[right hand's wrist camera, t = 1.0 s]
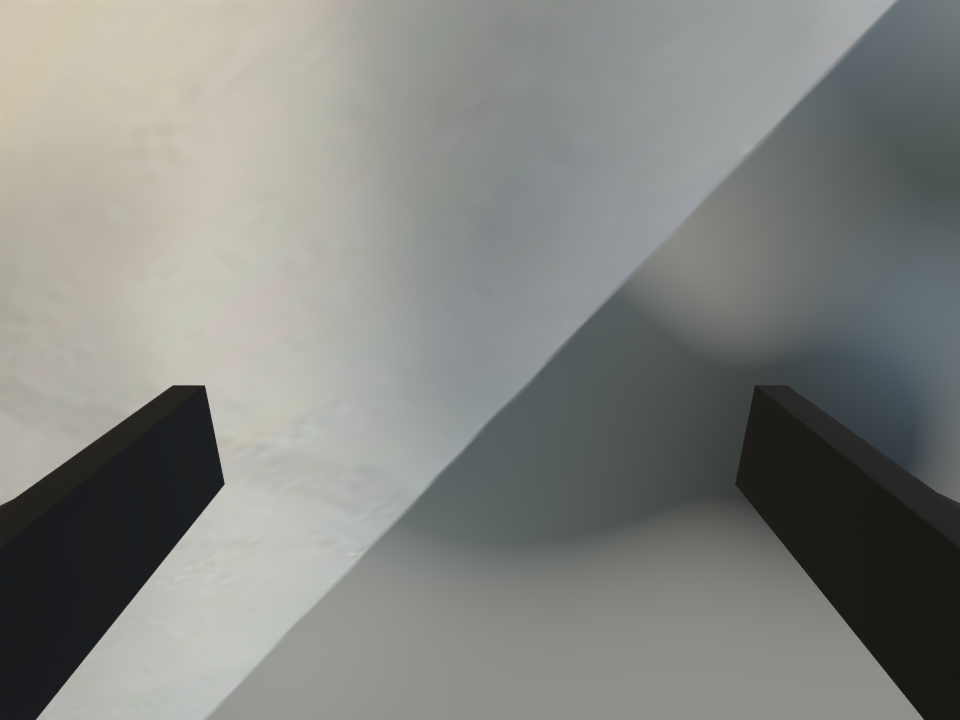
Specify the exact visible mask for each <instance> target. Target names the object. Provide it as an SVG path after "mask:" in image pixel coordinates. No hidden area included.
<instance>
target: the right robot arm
mask: <svg viewBox="0 0 960 720" xmlns="http://www.w3.org/2000/svg"><path fill="white" fill-rule="evenodd" d="M224 484H225V483H224V478H223V473H222V468H221V463H220V458H219V453H218V448H217V443H216V438H215V433H214V428H213V423H212V418H211V413H210V408H209V403H208V398H207V393H206V388H205V385H173V386H171V387H170V388H169V389H167V390H166V391H164V392H163V393H162V394H160V395H159V396H157V397H156V398H155V399H153V400H152V401H150V402H149V403H148V404H146V405H145V406H143V407H142V408H141V409H139V410H138V411H136V412H135V413H134V414H132V415H131V416H129V417H128V418H127V419H125V420H124V421H122V422H121V423H120V424H118V425H117V426H115V427H114V428H113V429H111V430H110V431H108V432H107V433H106V434H104V435H103V436H101V437H100V438H99V439H97V440H96V441H94V442H93V443H92V444H90V445H89V446H88V447H86V448H85V449H83V450H82V451H81V452H79V453H78V454H76V455H75V456H74V457H72V458H71V459H69V460H68V461H67V462H65V463H64V464H62V465H61V466H60V467H58V468H57V469H55V470H54V471H53V472H51V473H50V474H48V475H47V476H46V477H44V478H43V479H41V480H40V481H39V482H37V483H36V484H34V485H33V486H32V487H30V488H29V489H27V490H26V491H25V492H23V493H22V494H20V495H19V496H18V497H16V498H15V499H13V500H11V501H9V502H7V503H5V504H3V505H1V506H0V720H36V719H37V718H38V716H39V715H40V714H41V713H42V711H43V710H44V709H45V708H46V706H47V705H48V704H49V703H50V701H51V700H52V699H53V698H54V696H55V695H56V694H57V693H58V691H59V690H60V689H61V688H62V686H63V685H64V684H65V683H66V681H67V680H68V679H69V678H70V676H71V675H72V674H73V673H74V671H75V670H76V669H77V668H78V666H79V665H80V664H81V663H82V661H83V660H84V659H85V658H86V656H87V655H88V654H89V653H90V651H91V650H92V649H93V648H94V646H95V645H96V644H97V643H98V641H99V640H100V639H101V638H102V637H103V635H104V634H105V633H106V632H107V630H108V629H109V628H110V627H111V625H112V624H113V623H114V622H115V620H116V619H117V618H118V617H119V615H120V614H121V613H122V612H123V610H124V609H125V608H126V607H127V605H128V604H129V603H130V602H131V600H132V599H133V598H134V597H135V595H136V594H137V593H138V592H139V590H140V589H141V588H142V587H143V585H144V584H145V583H146V582H147V580H148V579H149V578H150V577H151V575H152V574H153V573H154V572H155V570H156V569H157V568H158V567H159V565H160V564H161V563H162V562H163V560H164V559H165V558H166V557H167V555H168V554H169V553H170V552H171V550H172V549H173V548H174V547H175V545H176V544H177V543H178V542H179V540H180V539H181V538H182V537H183V536H184V534H185V533H186V532H187V531H188V529H189V528H190V527H191V526H192V524H193V523H194V522H195V521H196V519H197V518H198V517H199V516H200V514H201V513H202V512H203V511H204V509H205V508H206V507H207V506H208V504H209V503H210V502H211V501H212V499H213V498H214V497H215V496H216V494H217V493H218V492H219V491H220V489H221V488H222V487H223V486H224ZM735 484H736V486H737V487H738V488H739V489H740V491H741V492H742V493H743V494H744V496H745V497H746V498H747V499H748V501H749V502H750V503H751V504H752V506H753V507H754V508H755V509H756V511H757V512H758V513H759V514H760V516H761V517H762V518H763V519H764V521H765V522H766V523H767V524H768V526H769V527H770V528H771V529H772V531H773V532H774V533H775V534H776V536H777V537H778V538H779V539H780V541H781V542H782V543H783V544H784V545H785V547H786V548H787V549H788V550H789V552H790V553H791V554H792V555H793V557H794V558H795V559H796V560H797V562H798V563H799V564H800V565H801V567H802V568H803V569H804V570H805V572H806V573H807V574H808V575H809V577H810V578H811V579H812V580H813V582H814V583H815V584H816V585H817V587H818V588H819V589H820V590H821V592H822V593H823V594H824V595H825V597H826V598H827V599H828V600H829V602H830V603H831V604H832V605H833V607H834V608H835V609H836V610H837V612H838V613H839V614H840V615H841V617H842V618H843V619H844V620H845V621H846V623H847V624H848V625H849V627H850V628H851V629H852V630H853V632H854V633H855V634H856V635H857V637H858V638H859V639H860V640H861V641H862V643H863V644H864V645H865V646H866V648H867V649H868V650H869V651H870V653H871V654H872V655H873V656H874V658H875V659H876V660H877V661H878V663H879V664H880V665H881V666H882V668H883V669H884V670H885V671H886V673H887V674H888V675H889V676H890V678H891V679H892V680H893V681H894V683H895V684H896V685H897V686H898V688H899V689H900V690H901V691H902V693H903V694H904V695H905V696H906V698H907V699H908V700H909V701H910V703H911V704H912V705H913V706H914V708H915V709H916V710H917V711H918V713H919V714H920V715H921V716H922V718H923V719H924V720H960V503H958V502H956V501H954V500H952V499H950V498H948V497H946V496H943V495H941V494H939V493H937V492H935V491H934V490H933V489H931V488H930V487H928V486H927V485H926V484H924V483H923V482H921V481H920V480H919V479H917V478H916V477H914V476H913V475H912V474H910V473H909V472H907V471H906V470H905V469H903V468H902V467H900V466H899V465H898V464H896V463H895V462H893V461H892V460H891V459H889V458H888V457H886V456H885V455H884V454H882V453H881V452H879V451H878V450H877V449H875V448H874V447H872V446H871V445H870V444H868V443H867V442H865V441H864V440H863V439H861V438H860V437H859V436H857V435H856V434H854V433H853V432H851V431H850V430H849V429H847V428H846V427H845V426H843V425H842V424H840V423H839V422H837V421H836V420H835V419H833V418H832V417H831V416H829V415H828V414H826V413H825V412H824V411H822V410H821V409H819V408H818V407H817V406H815V405H814V404H812V403H811V402H810V401H808V400H807V399H805V398H804V397H803V396H801V395H800V394H798V393H797V392H796V391H794V390H793V389H791V388H790V387H789V386H785V385H784V386H783V385H781V386H780V385H775V386H773V385H771V386H770V385H761V386H760V385H756V386H755V388H754V393H753V398H752V403H751V408H750V413H749V419H748V423H747V428H746V433H745V438H744V443H743V448H742V453H741V458H740V463H739V468H738V473H737V478H736V483H735Z"/></svg>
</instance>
